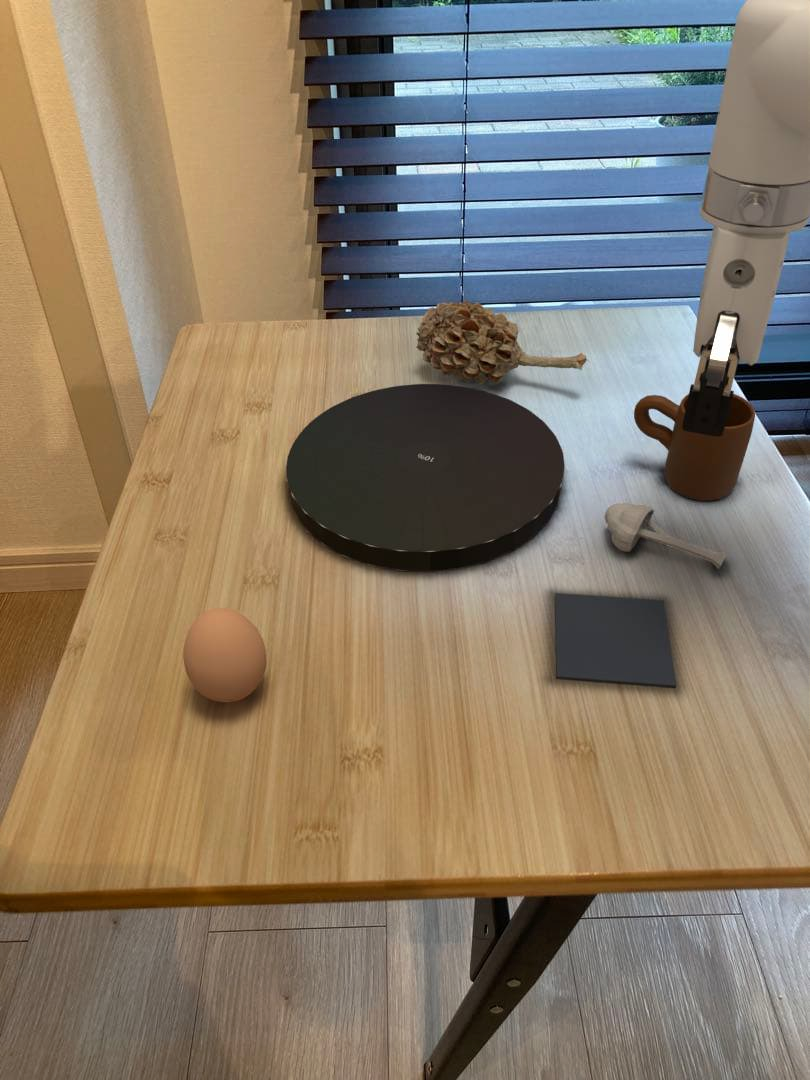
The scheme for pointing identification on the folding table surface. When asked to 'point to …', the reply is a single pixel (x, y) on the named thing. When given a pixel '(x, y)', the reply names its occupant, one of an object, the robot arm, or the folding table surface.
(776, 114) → the robot arm
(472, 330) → the pine cone
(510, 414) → the disc
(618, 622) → the coaster
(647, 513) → the mushroom
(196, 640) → the egg
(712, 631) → the folding table surface
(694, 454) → the mug
